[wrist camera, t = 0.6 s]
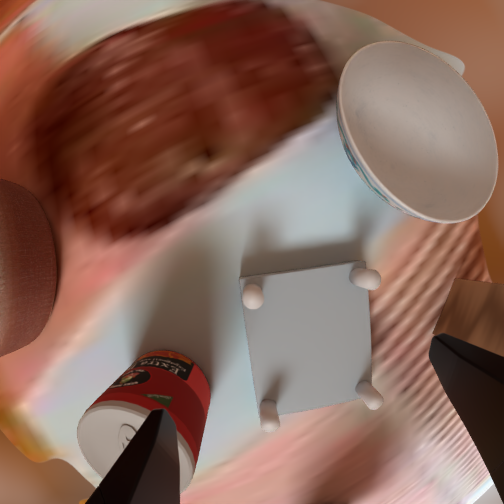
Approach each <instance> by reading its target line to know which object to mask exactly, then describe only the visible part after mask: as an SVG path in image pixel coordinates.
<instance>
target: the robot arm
mask: <svg viewBox="0 0 504 504" xmlns="http://www.w3.org/2000/svg"><path fill="white" fill-rule="evenodd" d="M429 359H430V361H431V363H432V365H433V367H434V369H435V371H436V374H437V376H438V378H439V380H440V382H441V384H442V386H443V388H444V390H445V392H446V394H447V396H448V398H449V399H450V401H451V403H452V404H453V406H454V408H455V409H456V411H457V413H458V415H459V416H460V418H461V420H462V422H463V423H464V425H465V427H466V429H467V431H468V432H469V434H470V436H471V438H472V440H473V442H474V443H475V445H476V447H477V449H478V451H479V453H480V455H481V457H482V459H483V461H484V463H485V465H486V467H487V469H488V471H489V473H490V475H491V478H492V480H493V482H494V484H495V486H496V488H497V491H498V493H499V495H500V497H501V500H502V502H503V504H504V357H503V356H501V355H498V354H496V353H493V352H491V351H488V350H486V349H483V348H481V347H478V346H476V345H473V344H471V343H468V342H466V341H463V340H461V339H458V338H456V337H453V336H451V335H448V334H446V333H440V334H438V335H435V336H434V337H433V338H432V341H431V346H430V350H429ZM85 504H180V461H179V451H178V441H177V430H176V424H175V422H174V420H173V419H172V418H171V416H170V415H169V413H168V412H167V410H166V409H164V408H160V409H153V410H152V411H151V412H150V413H149V415H148V416H147V418H146V419H145V421H144V422H143V423H142V425H141V426H140V428H139V429H138V431H137V432H136V433H135V435H134V436H133V438H132V439H131V440H130V442H129V443H128V445H127V446H126V448H125V449H124V450H123V452H122V453H121V455H120V456H119V457H118V459H117V460H116V462H115V463H114V464H113V466H112V467H111V469H110V470H109V471H108V473H107V474H106V476H105V477H104V479H103V480H102V481H101V483H100V484H99V486H98V487H97V488H96V490H95V491H94V492H93V494H92V495H91V496H90V498H89V499H88V500H87V502H86V503H85Z"/></svg>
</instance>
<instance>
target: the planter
mask: <svg viewBox="0 0 504 504" xmlns="http://www.w3.org/2000/svg"><path fill="white" fill-rule="evenodd" d="M55 290H56V255H55V247H54V242H53V237H52V232H51V229H50V226H49V223H48V220H47V217H46V215H45V213H44V211H43V209H42V207H41V205H40V204H39V202H38V201H37V199H36V198H35V197H34V196H33V195H32V194H31V193H30V192H29V191H28V190H27V189H25V188H23V187H22V186H20V185H17V184H15V183H12V182H9V181H6V180H3V179H0V357H1V356H4V355H6V354H9V353H11V352H13V351H16V350H18V349H20V348H22V347H24V346H26V345H28V344H29V343H31V342H32V341H34V340H35V339H36V338H37V337H38V336H39V335H40V333H41V332H42V330H43V329H44V327H45V325H46V323H47V321H48V319H49V316H50V313H51V310H52V306H53V302H54V297H55Z"/></svg>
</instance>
